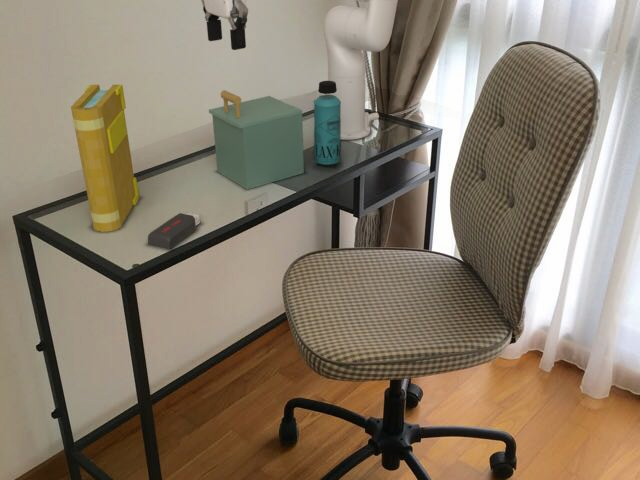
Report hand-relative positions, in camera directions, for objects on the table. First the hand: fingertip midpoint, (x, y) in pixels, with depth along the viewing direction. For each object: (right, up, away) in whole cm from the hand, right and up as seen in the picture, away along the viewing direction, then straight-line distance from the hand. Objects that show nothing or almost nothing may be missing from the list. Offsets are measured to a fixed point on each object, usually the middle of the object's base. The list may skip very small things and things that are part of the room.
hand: (226, 44), depth 166 cm
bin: (+6, -23, +19) cm, 31 cm away
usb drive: (-9, -41, -8) cm, 43 cm away
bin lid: (+5, -11, +12) cm, 17 cm away
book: (-24, -36, +1) cm, 43 cm away
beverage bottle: (+22, -21, +22) cm, 38 cm away
